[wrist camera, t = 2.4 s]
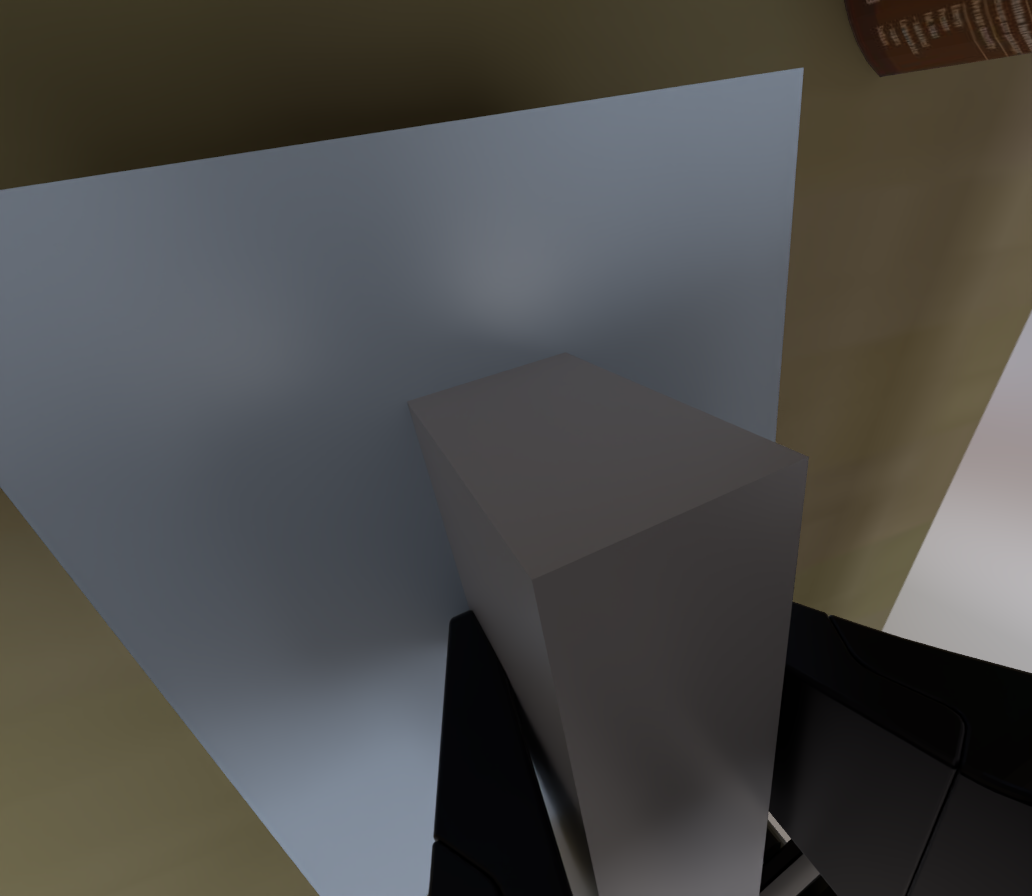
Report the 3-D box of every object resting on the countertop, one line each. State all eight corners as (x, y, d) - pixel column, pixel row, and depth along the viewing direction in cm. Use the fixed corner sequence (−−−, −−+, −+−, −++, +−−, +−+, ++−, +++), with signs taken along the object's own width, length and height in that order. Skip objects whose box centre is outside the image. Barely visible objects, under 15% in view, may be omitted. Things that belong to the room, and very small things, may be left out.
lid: (703, 645, 15) (912, 853, 10) (344, 840, 12) (384, 1277, 7) (704, 99, 9) (1280, -88, 4) (-60, 225, 6) (-2971, 156, 1)
